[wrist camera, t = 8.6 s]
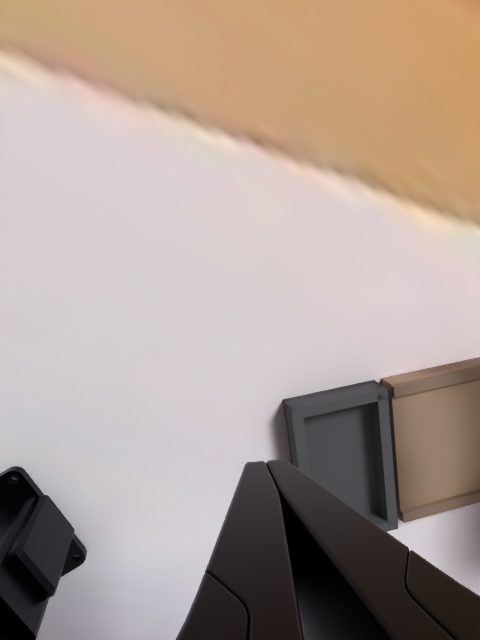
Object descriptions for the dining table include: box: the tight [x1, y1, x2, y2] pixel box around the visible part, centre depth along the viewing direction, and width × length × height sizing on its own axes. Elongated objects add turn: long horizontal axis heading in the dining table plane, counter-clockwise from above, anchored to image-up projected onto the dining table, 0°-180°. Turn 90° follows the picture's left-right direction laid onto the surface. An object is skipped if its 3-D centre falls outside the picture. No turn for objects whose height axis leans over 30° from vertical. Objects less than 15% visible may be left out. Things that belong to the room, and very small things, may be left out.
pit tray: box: [283, 380, 398, 532], centre depth 24 cm, size 6×9×2 cm, turn 8°
